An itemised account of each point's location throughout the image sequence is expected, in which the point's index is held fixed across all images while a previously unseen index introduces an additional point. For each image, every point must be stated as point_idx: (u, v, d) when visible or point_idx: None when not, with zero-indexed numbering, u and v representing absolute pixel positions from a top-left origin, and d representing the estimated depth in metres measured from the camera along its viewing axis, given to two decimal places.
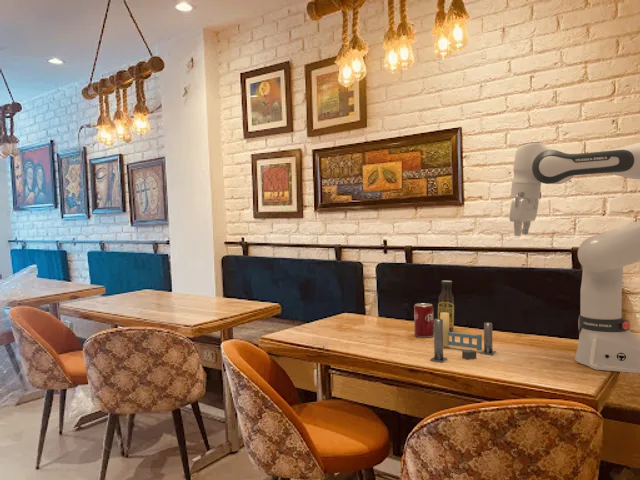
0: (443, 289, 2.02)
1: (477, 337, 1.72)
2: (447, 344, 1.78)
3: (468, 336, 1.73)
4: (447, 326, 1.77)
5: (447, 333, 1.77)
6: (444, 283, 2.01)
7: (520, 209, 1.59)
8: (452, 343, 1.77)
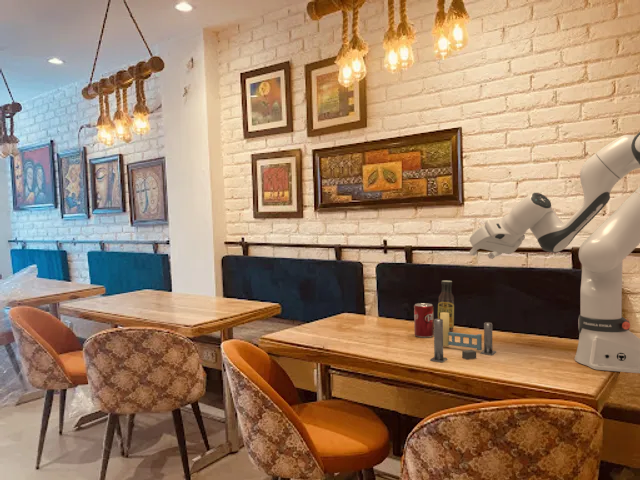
0: (443, 289, 2.02)
1: (477, 337, 1.72)
2: (447, 344, 1.78)
3: (468, 336, 1.73)
4: (447, 326, 1.77)
5: (447, 333, 1.77)
6: (444, 283, 2.01)
7: None
8: (452, 343, 1.77)
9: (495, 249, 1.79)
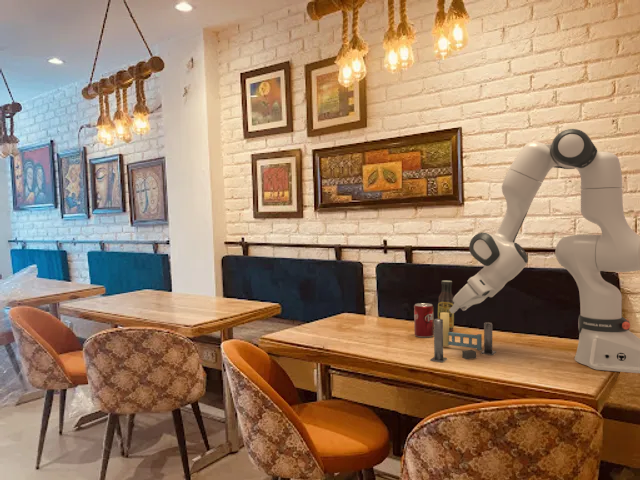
0: (443, 289, 2.02)
1: (477, 337, 1.72)
2: (447, 344, 1.78)
3: (468, 336, 1.73)
4: (447, 326, 1.77)
5: (447, 333, 1.77)
6: (444, 283, 2.01)
7: None
8: (452, 343, 1.77)
9: (473, 303, 1.72)
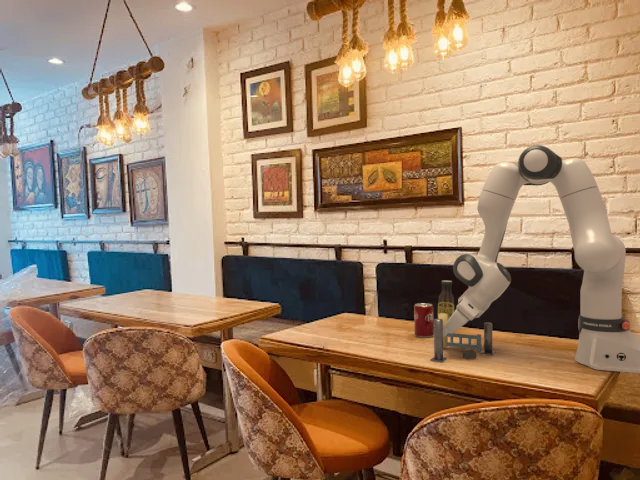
0: (443, 289, 2.02)
1: (477, 338, 1.71)
2: (446, 345, 1.76)
3: (468, 337, 1.73)
4: None
5: None
6: (444, 283, 2.01)
7: None
8: (451, 344, 1.75)
9: None
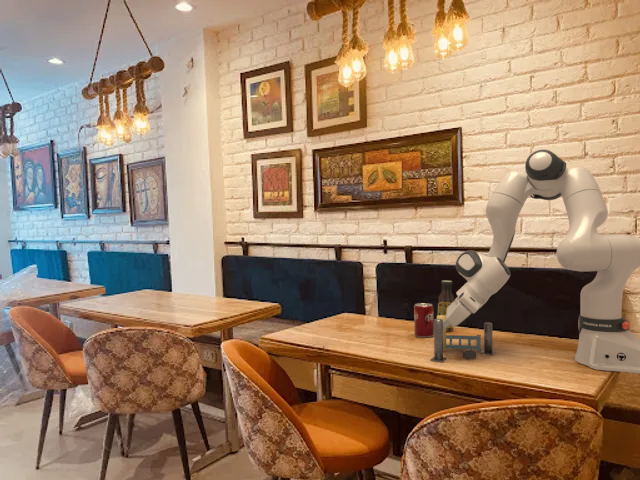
0: (443, 289, 2.02)
1: (477, 338, 1.70)
2: (445, 348, 1.73)
3: (467, 338, 1.71)
4: (445, 329, 1.73)
5: (445, 336, 1.73)
6: (444, 283, 2.01)
7: None
8: (450, 346, 1.73)
9: None
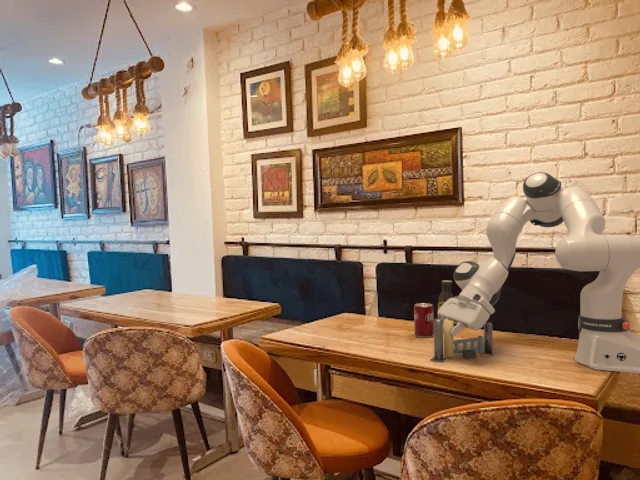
0: (443, 289, 2.02)
1: (480, 340, 1.68)
2: (453, 354, 1.65)
3: (472, 340, 1.68)
4: None
5: (453, 342, 1.65)
6: (444, 283, 2.01)
7: None
8: (457, 352, 1.66)
9: None
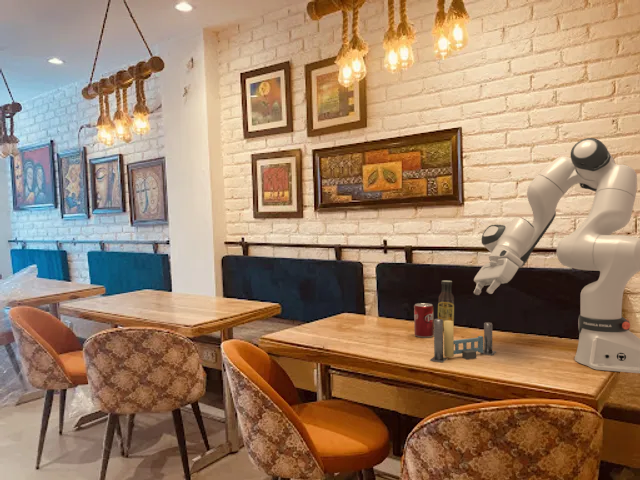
0: (443, 289, 2.02)
1: (480, 340, 1.68)
2: (453, 354, 1.65)
3: (472, 340, 1.68)
4: None
5: (453, 342, 1.65)
6: (444, 283, 2.01)
7: None
8: (457, 352, 1.66)
9: None
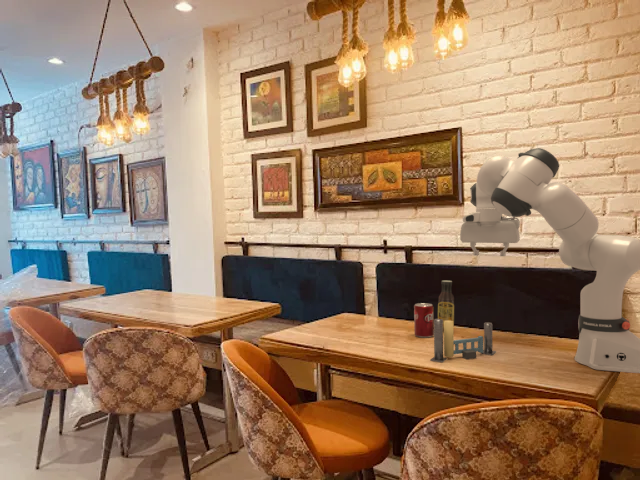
0: (443, 289, 2.02)
1: (480, 340, 1.68)
2: (453, 354, 1.65)
3: (472, 340, 1.68)
4: None
5: (453, 342, 1.65)
6: (444, 283, 2.01)
7: (518, 231, 1.78)
8: (457, 352, 1.66)
9: (489, 239, 1.81)
